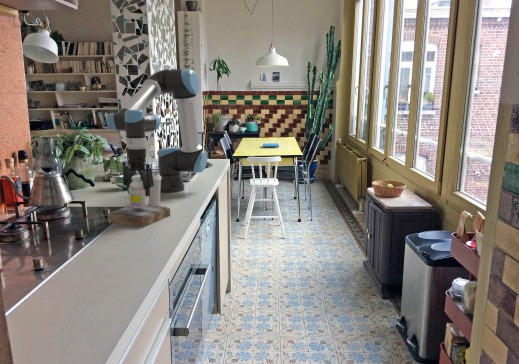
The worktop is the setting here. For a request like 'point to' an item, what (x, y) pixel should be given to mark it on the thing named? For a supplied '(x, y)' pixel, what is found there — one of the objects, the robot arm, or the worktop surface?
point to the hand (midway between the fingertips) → (139, 202)
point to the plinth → (139, 215)
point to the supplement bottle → (137, 192)
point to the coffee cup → (155, 190)
